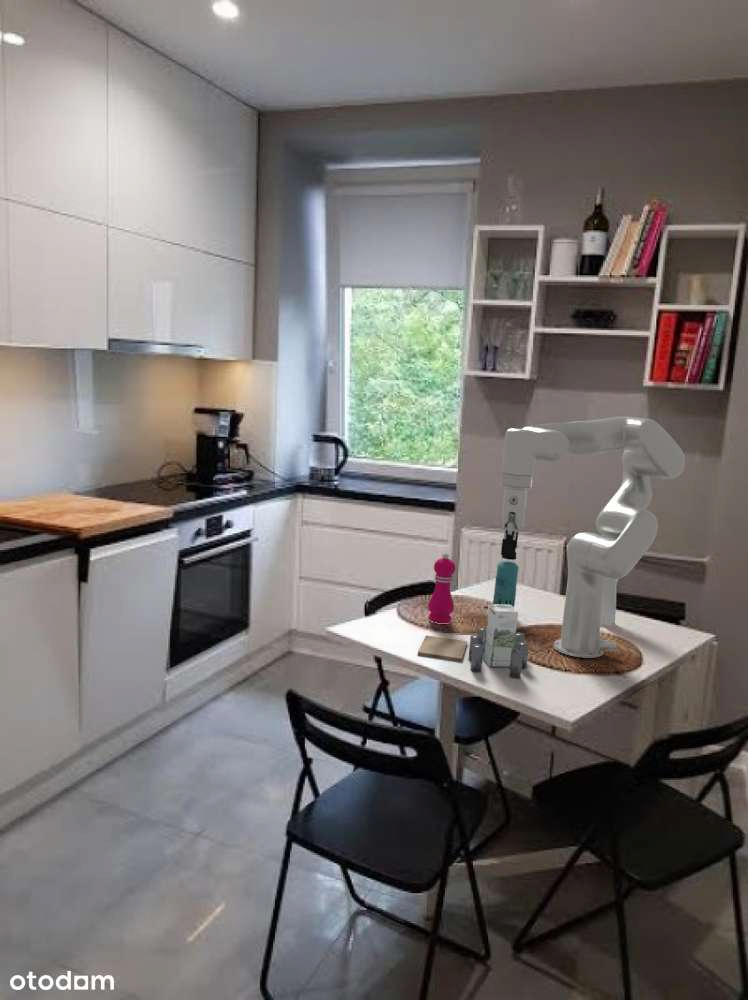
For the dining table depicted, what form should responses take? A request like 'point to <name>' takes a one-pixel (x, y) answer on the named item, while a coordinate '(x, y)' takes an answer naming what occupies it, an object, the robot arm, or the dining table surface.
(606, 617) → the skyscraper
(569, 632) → the robot arm
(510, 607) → the syrup box
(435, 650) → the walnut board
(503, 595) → the beverage bottle
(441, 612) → the pepper mill
